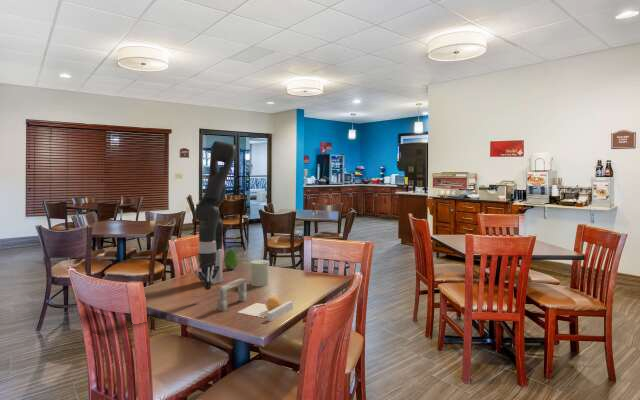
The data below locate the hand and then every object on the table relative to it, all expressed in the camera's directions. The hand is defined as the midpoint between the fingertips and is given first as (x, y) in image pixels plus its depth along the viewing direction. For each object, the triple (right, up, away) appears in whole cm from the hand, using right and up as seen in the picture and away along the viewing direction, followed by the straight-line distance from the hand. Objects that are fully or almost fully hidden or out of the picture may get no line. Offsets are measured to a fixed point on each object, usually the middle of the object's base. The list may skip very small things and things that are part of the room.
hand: (207, 289), depth 173 cm
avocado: (-3, -2, +58) cm, 58 cm away
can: (+19, -4, +27) cm, 33 cm away
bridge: (+13, -5, -6) cm, 15 cm away
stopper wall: (+34, -6, -17) cm, 38 cm away
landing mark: (+25, -6, -12) cm, 28 cm away
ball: (+31, -3, -14) cm, 34 cm away
